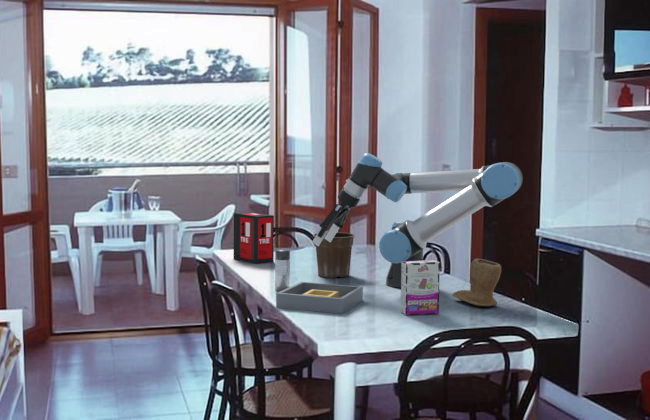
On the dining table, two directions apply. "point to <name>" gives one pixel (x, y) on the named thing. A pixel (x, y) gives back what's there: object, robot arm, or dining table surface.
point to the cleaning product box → (253, 237)
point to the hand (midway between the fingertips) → (321, 242)
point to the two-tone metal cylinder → (282, 269)
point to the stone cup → (481, 283)
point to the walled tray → (319, 297)
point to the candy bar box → (420, 287)
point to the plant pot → (334, 255)
